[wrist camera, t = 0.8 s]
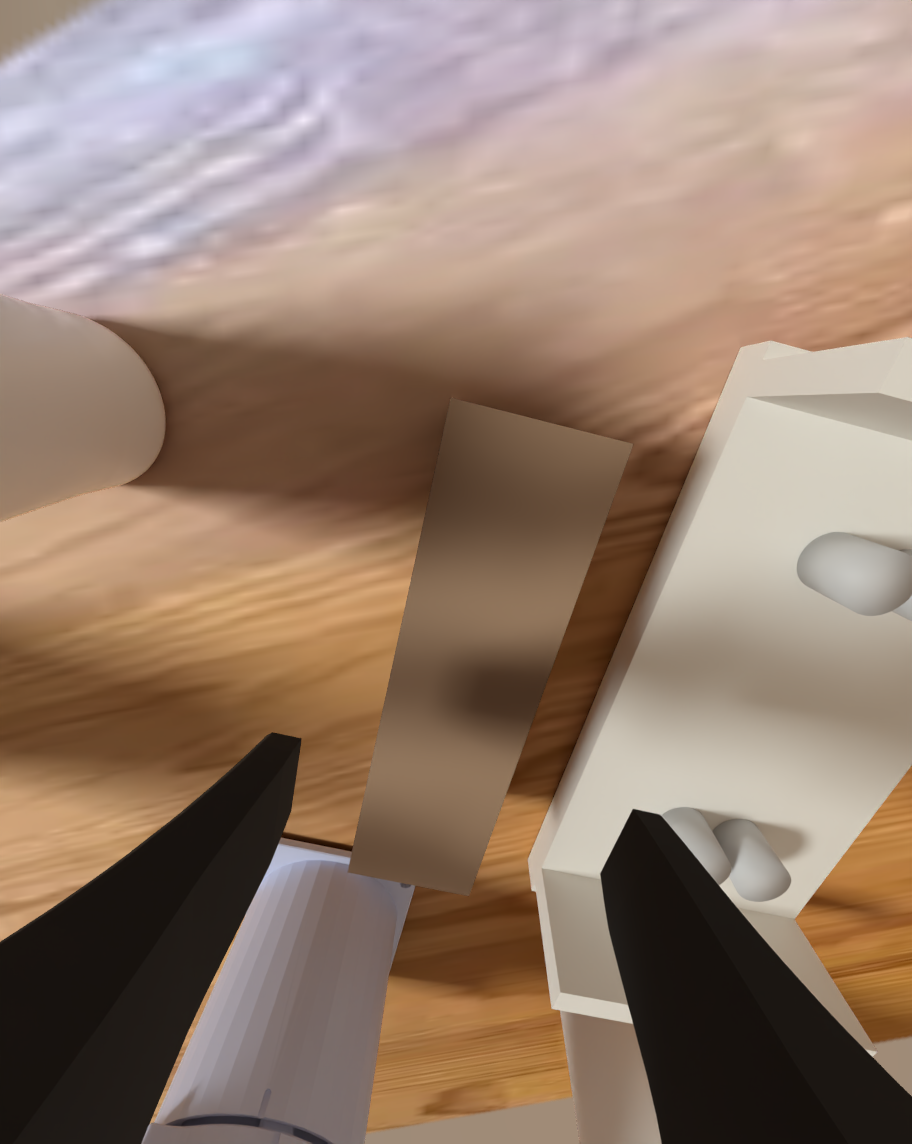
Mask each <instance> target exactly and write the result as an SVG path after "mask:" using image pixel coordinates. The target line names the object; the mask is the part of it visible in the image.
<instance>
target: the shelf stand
mask: <svg viewBox="0 0 912 1144" xmlns="http://www.w3.org/2000/svg"><path fill="white" fill-rule="evenodd" d="M911 765H912V338H909V337H905V338H899V339H893V340H886V341H880V342H874V343H867V344H861V345H854V346H848V347H842V348H835V349H829V350H823V351H816V352H811V351H807V350H804V349H800V348H796V347H793V346H789V345H785V344H782V343H778V342H774V341H767V342H762V343H758V344H753V345H749V346H744V347H741V348H740V350H739V353H738V355H737V358H736V360H735V362H734V365H733V367H732V370H731V372H730V374H729V377H728V379H727V382H726V384H725V386H724V389H723V391H722V394H721V396H720V398H719V401H718V403H717V406H716V408H715V410H714V413H713V415H712V418H711V420H710V422H709V425H708V427H707V430H706V432H705V435H704V437H703V439H702V442H701V444H700V447H699V449H698V451H697V454H696V456H695V459H694V461H693V463H692V466H691V468H690V471H689V473H688V475H687V478H686V480H685V483H684V485H683V487H682V490H681V492H680V495H679V497H678V499H677V502H676V504H675V507H674V509H673V511H672V514H671V516H670V519H669V521H668V523H667V526H666V528H665V531H664V533H663V536H662V538H661V540H660V543H659V545H658V548H657V550H656V552H655V555H654V557H653V560H652V562H651V564H650V567H649V569H648V572H647V574H646V576H645V579H644V581H643V584H642V586H641V588H640V591H639V593H638V596H637V598H636V600H635V603H634V605H633V608H632V610H631V612H630V615H629V617H628V620H627V622H626V625H625V627H624V629H623V632H622V634H621V637H620V639H619V641H618V644H617V646H616V649H615V651H614V653H613V656H612V658H611V661H610V663H609V665H608V668H607V670H606V673H605V675H604V677H603V680H602V682H601V685H600V687H599V689H598V692H597V694H596V697H595V699H594V701H593V704H592V706H591V709H590V711H589V714H588V716H587V718H586V721H585V723H584V726H583V728H582V730H581V733H580V735H579V738H578V740H577V742H576V745H575V747H574V750H573V752H572V754H571V757H570V759H569V762H568V764H567V766H566V769H565V771H564V774H563V776H562V778H561V781H560V783H559V786H558V788H557V790H556V793H555V795H554V798H553V800H552V802H551V805H550V807H549V810H548V812H547V815H546V817H545V819H544V822H543V824H542V827H541V829H540V831H539V834H538V836H537V839H536V841H535V843H534V846H533V848H532V851H531V853H530V855H529V858H528V865H529V873H530V881H531V889H532V891H536V895H537V903H538V910H539V918H540V925H541V933H542V940H543V948H544V955H545V963H546V970H547V978H548V985H549V993H550V1000H551V1008H552V1009H555V1010H561V1011H566V1012H572V1013H577V1014H582V1015H588V1016H593V1017H599V1018H604V1019H609V1020H615V1021H620V1022H626V1023H631V1024H633V1022H632V1018H631V1014H630V1010H629V1007H628V1003H627V999H626V995H625V992H624V988H623V984H622V980H621V976H620V973H619V969H618V965H617V961H616V957H615V953H614V949H613V946H612V941H611V937H610V933H609V929H608V923H607V917H606V911H605V905H604V898H603V891H602V883H601V876H600V873H601V871H602V869H603V867H604V865H605V863H606V861H607V859H608V857H609V855H610V853H611V851H612V849H613V847H614V845H615V843H616V841H617V839H618V837H619V835H620V833H621V831H622V829H623V827H624V825H625V823H626V821H627V819H628V817H629V816H630V814H631V812H632V810H633V809H637V810H641V811H646V812H651V813H656V814H660V815H661V816H662V817H663V818H664V820H665V821H666V822H667V823H668V824H669V825H670V827H671V828H672V829H673V830H674V831H675V832H676V834H677V835H678V836H679V837H680V838H681V840H682V841H683V842H684V843H685V845H686V846H687V847H688V848H689V849H690V851H691V852H692V853H693V854H694V856H695V857H696V858H697V859H698V860H699V862H700V863H701V864H702V865H703V867H704V868H705V869H706V870H707V871H708V873H709V874H710V875H711V876H712V878H713V879H714V880H715V881H716V882H717V884H718V885H719V886H720V887H721V889H722V890H723V891H724V892H725V893H726V895H727V896H728V897H729V898H730V899H731V901H732V902H733V903H734V904H735V906H736V907H737V908H738V909H739V910H740V911H741V913H742V914H743V915H744V916H745V917H746V919H747V920H748V921H749V922H750V923H751V925H752V926H753V927H754V928H755V929H756V930H757V932H758V933H759V934H760V935H761V936H762V938H763V939H764V940H765V941H766V942H767V943H768V944H769V946H770V947H771V948H772V949H773V950H774V951H775V953H776V954H777V955H778V956H779V957H780V958H781V959H782V961H783V962H784V963H785V964H786V965H787V966H788V967H789V968H790V969H791V971H792V972H793V973H794V974H795V975H796V976H797V977H798V978H799V980H800V981H801V982H802V983H803V984H804V985H805V986H806V987H807V988H808V990H809V991H810V992H811V993H812V994H813V995H814V996H815V997H816V998H817V1000H818V1001H819V1002H820V1003H821V1004H822V1005H823V1006H824V1007H825V1008H826V1009H827V1010H828V1011H829V1012H830V1014H831V1015H832V1016H833V1017H834V1018H835V1019H836V1020H837V1021H838V1022H839V1023H840V1024H841V1025H842V1026H843V1027H844V1028H845V1029H846V1030H847V1031H848V1032H849V1034H850V1035H851V1036H852V1037H853V1038H854V1039H855V1040H856V1041H857V1042H858V1043H859V1044H860V1045H861V1046H862V1047H863V1048H864V1049H865V1050H866V1051H867V1052H868V1053H869V1054H870V1055H871V1056H872V1057H873V1056H874V1055H875V1054H876V1053H877V1052H878V1051H877V1050H876V1048H875V1047H874V1045H873V1043H872V1042H871V1040H870V1039H869V1037H868V1035H867V1034H866V1032H865V1031H864V1029H863V1027H862V1026H861V1024H860V1023H859V1021H858V1019H857V1018H856V1016H855V1015H854V1013H853V1012H852V1010H851V1008H850V1007H849V1005H848V1004H847V1002H846V1000H845V999H844V997H843V996H842V994H841V992H840V991H839V989H838V988H837V986H836V985H835V983H834V981H833V980H832V978H831V977H830V975H829V973H828V972H827V970H826V969H825V967H824V965H823V964H822V962H821V961H820V959H819V958H818V956H817V954H816V953H815V951H814V950H813V948H812V946H811V945H810V943H809V942H808V940H807V938H806V937H805V935H804V934H803V932H802V931H801V929H800V927H799V926H798V924H797V923H796V921H795V918H796V916H797V915H798V914H799V912H800V911H801V910H802V909H803V907H804V906H805V905H806V903H807V902H808V901H809V899H810V898H811V897H812V895H813V894H814V893H815V891H816V890H817V889H818V888H819V886H820V885H821V884H822V882H823V881H824V880H825V878H826V877H827V876H828V874H829V873H830V872H831V870H832V869H833V868H834V867H835V865H836V864H837V863H838V861H839V860H840V859H841V857H842V856H843V855H844V853H845V852H846V851H847V849H848V848H849V847H850V846H851V844H852V843H853V842H854V840H855V839H856V838H857V836H858V835H859V834H860V832H861V831H862V830H863V828H864V827H865V826H866V825H867V823H868V822H869V821H870V819H871V818H872V817H873V815H874V814H875V813H876V811H877V810H878V809H879V807H880V806H881V805H882V804H883V802H884V801H885V800H886V798H887V797H888V796H889V794H890V793H891V792H892V790H893V789H894V788H895V786H896V785H897V784H898V783H899V781H900V780H901V779H902V777H903V776H904V775H905V773H906V772H907V771H908V769H909V768H910V767H911Z"/></svg>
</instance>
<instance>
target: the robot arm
mask: <svg viewBox="0 0 912 1144" xmlns="http://www.w3.org/2000/svg"><path fill="white" fill-rule="evenodd" d="M300 746H301V738H296V737H292V736H287V735H282V734H278V733H273V732H272V733H271V734H269V735H267V736H266V737H265V738H264V739H263V740H262V741H261V742H260V743H259V744H257V745H256V746H255V747H254V748H253V749H252V750H251V751H250V752H249V753H248V754H247V755H246V756H245V757H244V758H243V759H242V760H241V761H239V762H238V763H237V764H236V765H235V766H234V767H233V768H232V769H231V770H230V771H228V772H227V773H226V774H225V775H224V776H223V777H222V778H221V779H220V780H218V781H217V782H216V783H215V784H214V785H213V786H211V787H210V788H209V789H208V790H207V791H206V792H204V793H203V794H202V795H201V796H200V797H199V798H197V799H196V800H195V801H194V802H193V803H191V804H190V805H189V806H188V807H187V808H186V809H184V810H183V811H182V812H181V813H180V814H178V815H177V816H176V817H175V818H173V819H172V820H171V821H170V822H168V823H167V824H166V825H165V826H163V827H162V828H161V829H159V830H158V831H157V832H156V833H154V834H153V835H152V836H150V837H149V838H148V839H147V840H145V841H144V842H143V843H141V844H140V845H139V846H138V847H136V848H135V849H134V850H132V851H131V852H130V853H129V854H127V855H126V856H125V857H123V858H122V859H121V860H119V861H118V862H117V863H115V864H114V865H112V866H111V867H110V868H108V869H107V870H106V871H104V872H103V873H102V874H100V875H99V876H97V877H96V878H95V879H93V880H92V881H90V882H89V883H88V884H86V885H85V886H83V887H82V888H80V889H79V890H78V891H76V892H75V893H73V894H72V895H70V896H69V897H67V898H66V899H64V900H63V901H62V902H60V903H59V904H57V905H56V906H54V907H53V908H51V909H50V910H48V911H47V912H45V913H44V914H42V915H41V916H39V917H38V918H36V919H35V920H33V921H32V922H30V923H29V924H27V925H26V926H24V927H22V928H21V929H19V930H18V931H16V932H15V933H13V934H12V935H10V936H9V937H7V938H6V939H4V940H2V941H1V942H0V1144H364V1143H365V1136H366V1129H367V1122H368V1115H369V1108H370V1101H371V1094H372V1087H373V1080H374V1074H375V1067H376V1060H377V1053H378V1046H379V1039H380V1032H381V1025H382V1018H383V1011H384V1004H385V997H386V991H387V984H388V977H389V972H390V969H391V966H392V962H393V959H394V956H395V952H396V949H397V946H398V942H399V939H400V936H401V932H402V929H403V926H404V922H405V919H406V916H407V912H408V909H409V906H410V902H411V899H412V896H413V892H414V889H415V886H414V885H409V884H404V883H399V882H394V881H389V880H383V879H378V878H373V877H368V876H363V875H358V874H353V873H348V868H349V863H350V858H351V854H352V852H351V851H346V850H341V849H336V848H331V847H326V846H321V845H316V844H311V843H306V842H301V841H296V840H291V839H286V838H281V836H282V833H283V831H284V828H285V825H286V823H287V820H288V818H289V815H290V812H291V808H292V801H293V794H294V787H295V780H296V774H297V767H298V760H299V753H300ZM600 876H601V883H602V891H603V898H604V905H605V911H606V917H607V923H608V929H609V933H610V937H611V941H612V946H613V949H614V953H615V957H616V961H617V965H618V969H619V973H620V976H621V980H622V984H623V988H624V992H625V995H626V999H627V1003H628V1007H629V1010H630V1014H631V1018H632V1022H633V1025H634V1029H635V1033H636V1037H637V1040H638V1044H639V1048H640V1052H641V1056H642V1059H643V1063H644V1067H645V1071H646V1074H647V1078H648V1082H649V1087H650V1091H651V1095H652V1099H653V1104H654V1108H655V1112H656V1117H657V1122H658V1127H659V1132H660V1138H661V1143H662V1144H912V1096H911V1095H910V1094H909V1093H907V1091H905V1090H904V1088H903V1087H901V1086H900V1085H899V1084H898V1083H897V1082H896V1081H895V1080H894V1079H893V1078H892V1077H891V1076H890V1075H889V1074H888V1073H887V1072H886V1071H885V1070H884V1068H883V1067H882V1066H881V1065H880V1064H879V1063H877V1061H876V1060H875V1059H874V1058H873V1057H872V1056H871V1055H870V1054H869V1053H868V1052H867V1051H866V1050H865V1049H864V1048H863V1047H862V1046H861V1045H860V1044H859V1043H858V1042H857V1041H856V1040H855V1039H854V1038H853V1037H852V1036H851V1035H850V1034H849V1032H848V1031H847V1030H846V1029H845V1028H844V1027H843V1026H842V1025H841V1024H840V1023H839V1022H838V1021H837V1020H836V1019H835V1018H834V1017H833V1016H832V1015H831V1014H830V1012H829V1011H828V1010H827V1009H826V1008H825V1007H824V1006H823V1005H822V1004H821V1003H820V1002H819V1001H818V1000H817V998H816V997H815V996H814V995H813V994H812V993H811V992H810V991H809V990H808V988H807V987H806V986H805V985H804V984H803V983H802V982H801V981H800V980H799V978H798V977H797V976H796V975H795V974H794V973H793V972H792V971H791V969H790V968H789V967H788V966H787V965H786V964H785V963H784V962H783V961H782V959H781V958H780V957H779V956H778V955H777V954H776V953H775V951H774V950H773V949H772V948H771V947H770V946H769V944H768V943H767V942H766V941H765V940H764V939H763V938H762V936H761V935H760V934H759V933H758V932H757V930H756V929H755V928H754V927H753V926H752V925H751V923H750V922H749V921H748V920H747V919H746V917H745V916H744V915H743V914H742V913H741V911H740V910H739V909H738V908H737V907H736V906H735V904H734V903H733V902H732V901H731V899H730V898H729V897H728V896H727V895H726V893H725V892H724V891H723V890H722V889H721V887H720V886H719V885H718V884H717V882H716V881H715V880H714V879H713V878H712V876H711V875H710V874H709V873H708V871H707V870H706V869H705V868H704V867H703V865H702V864H701V863H700V862H699V860H698V859H697V858H696V857H695V856H694V854H693V853H692V852H691V851H690V849H689V848H688V847H687V846H686V845H685V843H684V842H683V841H682V840H681V838H680V837H679V836H678V835H677V834H676V832H675V831H674V830H673V829H672V828H671V827H670V825H669V824H668V823H667V822H666V821H665V820H664V818H663V817H662V816H661V815H660V814H656V813H651V812H646V811H641V810H637V809H633V810H632V812H631V814H630V816H629V817H628V819H627V821H626V823H625V825H624V827H623V829H622V831H621V833H620V835H619V837H618V839H617V841H616V843H615V845H614V847H613V849H612V851H611V853H610V855H609V857H608V859H607V861H606V863H605V865H604V867H603V869H602V871H601V873H600ZM245 914H246V915H245ZM244 916H245V918H244ZM243 918H244V920H243ZM242 920H243V923H242V925H241V927H240V929H239V932H238V934H237V936H236V938H235V941H234V943H233V945H232V948H231V950H230V952H229V954H228V957H227V959H226V961H225V963H224V966H223V968H222V970H221V972H220V975H219V977H218V979H217V981H216V984H215V986H214V988H213V990H212V993H211V995H210V997H209V1000H208V1002H207V1004H206V1006H205V1009H204V1011H203V1013H202V1015H201V1018H200V1020H199V1022H198V1024H197V1027H196V1029H195V1031H194V1033H193V1036H192V1038H191V1040H190V1042H189V1045H188V1047H187V1049H186V1052H185V1054H184V1056H183V1058H182V1061H181V1063H180V1065H179V1067H178V1070H177V1072H176V1074H175V1076H174V1079H173V1081H172V1083H171V1085H170V1088H169V1090H168V1092H167V1094H166V1097H165V1099H164V1101H163V1104H162V1106H161V1108H160V1110H159V1113H158V1115H157V1117H156V1119H155V1122H154V1123H151V1124H150V1121H151V1119H152V1116H153V1114H154V1111H155V1109H156V1107H157V1104H158V1102H159V1099H160V1097H161V1095H162V1092H163V1090H164V1087H165V1085H166V1083H167V1080H168V1078H169V1076H170V1073H171V1071H172V1068H173V1066H174V1064H175V1061H176V1059H177V1056H178V1054H179V1052H180V1049H181V1047H182V1044H183V1042H184V1040H185V1037H186V1035H187V1033H188V1030H189V1028H190V1026H191V1024H192V1022H193V1020H194V1018H195V1015H196V1013H197V1011H198V1009H199V1007H200V1005H201V1002H202V1000H203V998H204V996H205V994H206V992H207V990H208V988H209V986H210V984H211V982H212V980H213V978H214V976H215V974H216V972H217V970H218V968H219V966H220V964H221V962H222V960H223V958H224V956H225V954H226V952H227V950H228V948H229V946H230V944H231V942H232V940H233V938H234V936H235V934H236V932H237V930H238V928H239V926H240V924H241V922H242Z"/></svg>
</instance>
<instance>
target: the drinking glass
mask: <svg viewBox="0 0 912 1144" xmlns="http://www.w3.org/2000/svg"><path fill="white" fill-rule="evenodd" d="M165 429H166V417H165V409H164V404H163V400H162V396H161V393H160V390H159V388H158V386H157V383H156V381H155V379H154V377H153V375H152V374H151V372H150V370H149V369H148V367H147V366H146V364H145V363H144V361H143V360H142V359H141V357H140V356H139V355H138V354H137V353H136V352H135V351H134V349H133V348H132V347H130V346H129V345H128V344H127V343H126V342H125V341H124V340H123V339H122V338H120V337H119V336H118V335H117V334H115V333H114V332H112V331H111V330H109V329H108V328H106V327H104V326H103V325H101V324H99V323H97V322H95V321H93V320H91V319H88V318H86V317H83V316H80V315H77V314H74V313H70V312H66V311H62V310H58V309H54V308H50V307H46V306H41V305H37V304H33V303H28V302H25V301H22V300H19V299H16V298H12V297H9V296H6V295H3V294H0V522H3V521H6V520H8V519H11V518H14V517H17V516H20V515H23V514H26V513H29V512H32V511H35V510H38V509H41V508H44V507H47V506H50V505H53V504H56V503H59V502H62V501H65V500H68V499H71V498H74V497H77V496H80V495H83V494H87V493H92V492H96V491H100V490H105V489H109V488H113V487H117V486H120V485H123V484H126V483H128V482H130V481H132V480H134V479H136V478H138V477H139V476H140V475H142V474H143V473H144V472H145V471H147V470H148V469H149V468H150V466H151V465H152V464H153V463H154V461H155V460H156V458H157V457H158V455H159V453H160V450H161V448H162V445H163V441H164V437H165Z"/></svg>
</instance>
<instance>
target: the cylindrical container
mask: <svg viewBox="0 0 912 1144" xmlns="http://www.w3.org/2000/svg"><path fill="white" fill-rule="evenodd" d="M560 1013H561V1020H562V1026H563V1033H564V1040H565V1047H566V1054H567V1061H568V1067H569V1074H570V1081H571V1088H572V1095H573V1101H574V1108H575V1115H576V1122H577V1129H578V1136H579V1142H580V1144H662V1143H661V1138H660V1132H659V1127H658V1122H657V1117H656V1112H655V1108H654V1104H653V1099H652V1095H651V1091H650V1087H649V1082H648V1078H647V1074H646V1071H645V1067H644V1063H643V1059H642V1056H641V1052H640V1048H639V1044H638V1040H637V1037H636V1033H635V1029H634V1025H633V1024H631V1023H626V1022H620V1021H615V1020H609V1019H604V1018H599V1017H593V1016H588V1015H582V1014H577V1013H572V1012H566V1011H561V1010H560Z"/></svg>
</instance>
